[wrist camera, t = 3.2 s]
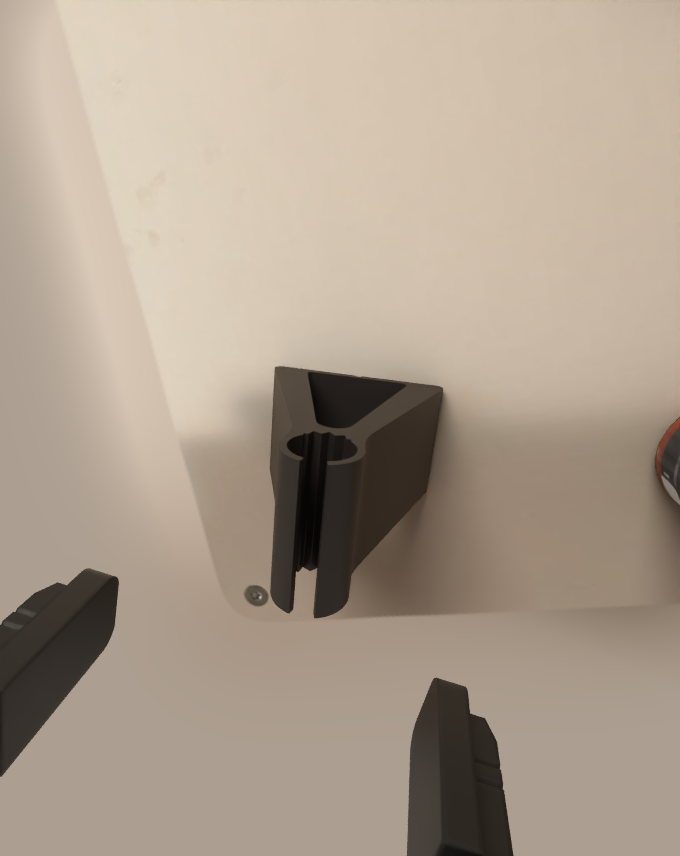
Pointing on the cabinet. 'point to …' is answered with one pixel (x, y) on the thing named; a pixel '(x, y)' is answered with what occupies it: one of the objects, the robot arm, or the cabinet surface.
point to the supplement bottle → (670, 461)
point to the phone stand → (342, 473)
